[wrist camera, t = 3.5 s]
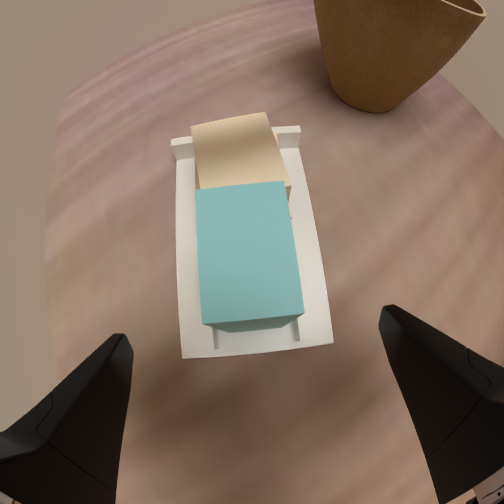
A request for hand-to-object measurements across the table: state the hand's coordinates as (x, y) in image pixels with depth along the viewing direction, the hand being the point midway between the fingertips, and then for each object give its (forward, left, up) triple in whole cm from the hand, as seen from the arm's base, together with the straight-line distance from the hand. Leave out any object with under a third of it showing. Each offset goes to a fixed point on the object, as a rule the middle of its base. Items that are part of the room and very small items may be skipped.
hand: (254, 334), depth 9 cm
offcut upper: (+9, +6, -7) cm, 13 cm away
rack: (+6, +4, -10) cm, 12 cm away
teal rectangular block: (+3, +2, -9) cm, 10 cm away
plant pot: (+27, +1, -10) cm, 28 cm away
